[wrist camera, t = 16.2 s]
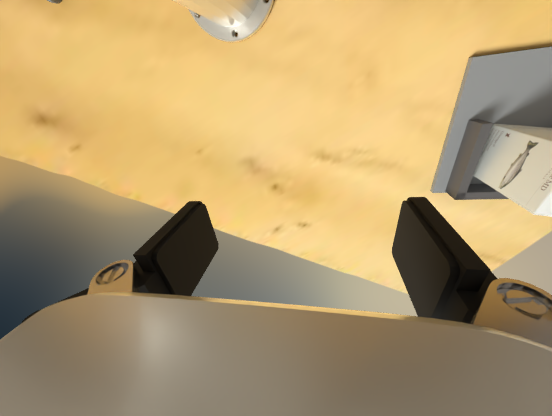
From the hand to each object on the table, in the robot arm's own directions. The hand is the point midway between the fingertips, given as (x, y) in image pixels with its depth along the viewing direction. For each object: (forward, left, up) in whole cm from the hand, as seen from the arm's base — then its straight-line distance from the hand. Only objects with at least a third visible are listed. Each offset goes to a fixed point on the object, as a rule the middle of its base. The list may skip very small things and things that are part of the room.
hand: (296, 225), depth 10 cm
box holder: (+4, +28, -28) cm, 40 cm away
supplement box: (+6, +28, -28) cm, 40 cm away
